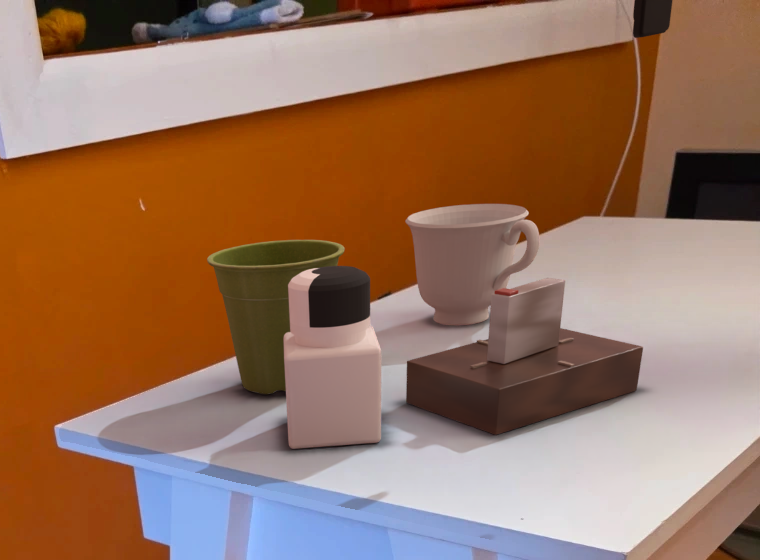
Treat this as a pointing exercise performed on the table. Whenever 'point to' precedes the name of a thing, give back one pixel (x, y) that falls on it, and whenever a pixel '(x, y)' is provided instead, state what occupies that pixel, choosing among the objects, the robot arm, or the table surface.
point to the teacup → (468, 256)
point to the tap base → (522, 381)
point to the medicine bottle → (331, 360)
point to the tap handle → (525, 320)
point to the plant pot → (264, 301)
